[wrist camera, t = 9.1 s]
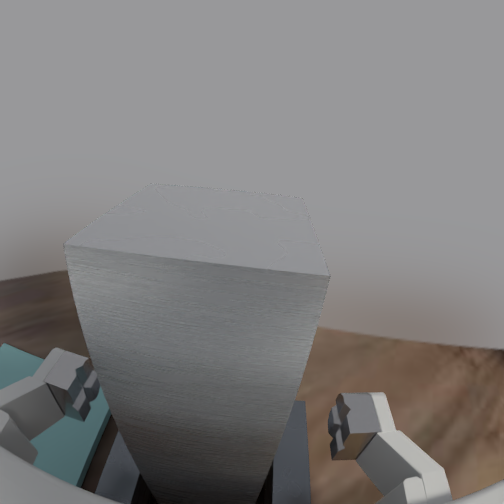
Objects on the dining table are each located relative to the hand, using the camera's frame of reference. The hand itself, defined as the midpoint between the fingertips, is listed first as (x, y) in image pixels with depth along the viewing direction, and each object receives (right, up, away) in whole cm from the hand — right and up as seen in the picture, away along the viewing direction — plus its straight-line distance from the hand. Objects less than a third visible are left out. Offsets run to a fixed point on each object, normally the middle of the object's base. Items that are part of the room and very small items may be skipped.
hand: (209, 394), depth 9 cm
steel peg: (-1, -7, +3) cm, 8 cm away
